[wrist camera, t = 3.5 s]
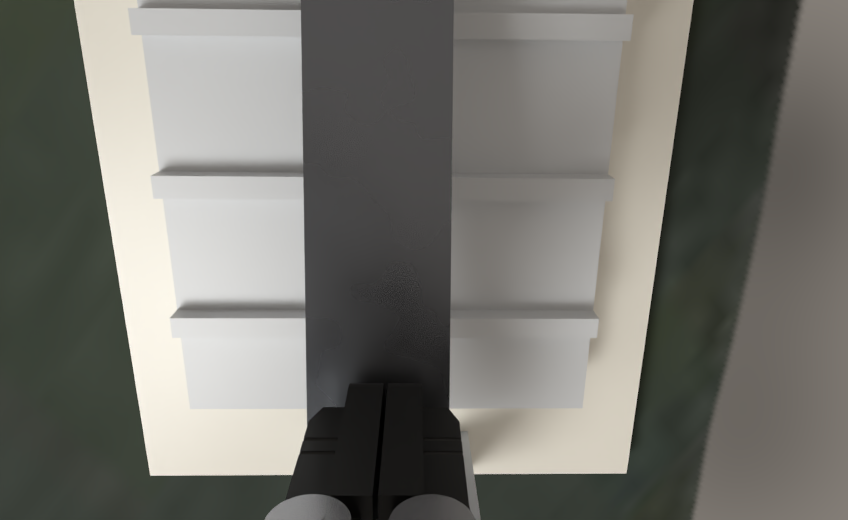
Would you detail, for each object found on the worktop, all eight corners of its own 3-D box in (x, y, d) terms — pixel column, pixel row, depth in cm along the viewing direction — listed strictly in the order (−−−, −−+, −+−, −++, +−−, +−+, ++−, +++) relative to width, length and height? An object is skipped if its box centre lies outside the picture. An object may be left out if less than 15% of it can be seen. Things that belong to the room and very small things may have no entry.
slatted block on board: (50, -272, 16) (-141, -436, 10) (713, -257, 16) (867, -406, 11) (160, 457, 23) (83, 587, 18) (618, 455, 24) (680, 581, 18)
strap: (305, -318, 13) (293, -371, 11) (453, -314, 13) (458, -366, 12) (318, 630, 15) (309, 669, 14) (443, 629, 15) (447, 667, 14)
